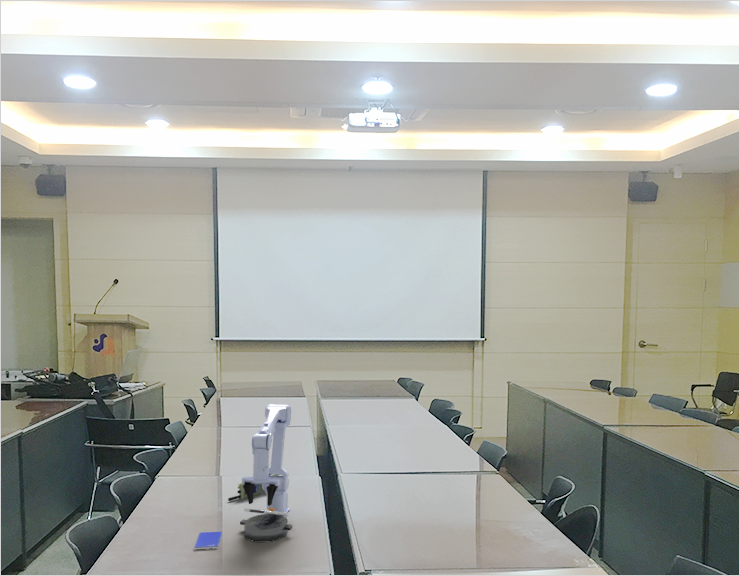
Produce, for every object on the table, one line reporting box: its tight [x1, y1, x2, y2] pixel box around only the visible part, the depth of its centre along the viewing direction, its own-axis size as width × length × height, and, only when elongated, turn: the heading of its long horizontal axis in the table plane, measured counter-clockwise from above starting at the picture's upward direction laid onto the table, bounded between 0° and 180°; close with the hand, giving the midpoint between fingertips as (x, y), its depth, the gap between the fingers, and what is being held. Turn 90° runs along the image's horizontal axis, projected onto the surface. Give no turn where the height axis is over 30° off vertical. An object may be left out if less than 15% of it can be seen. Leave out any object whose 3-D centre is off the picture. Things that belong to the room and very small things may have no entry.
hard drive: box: [193, 531, 223, 551], centre depth 221 cm, size 2×8×12 cm
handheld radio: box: [227, 474, 280, 502], centre depth 268 cm, size 7×3×25 cm
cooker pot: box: [239, 513, 293, 542], centre depth 230 cm, size 18×20×4 cm
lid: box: [243, 507, 290, 516], centre depth 229 cm, size 18×17×2 cm
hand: (260, 504), depth 224 cm, fingers open, 7 cm apart
